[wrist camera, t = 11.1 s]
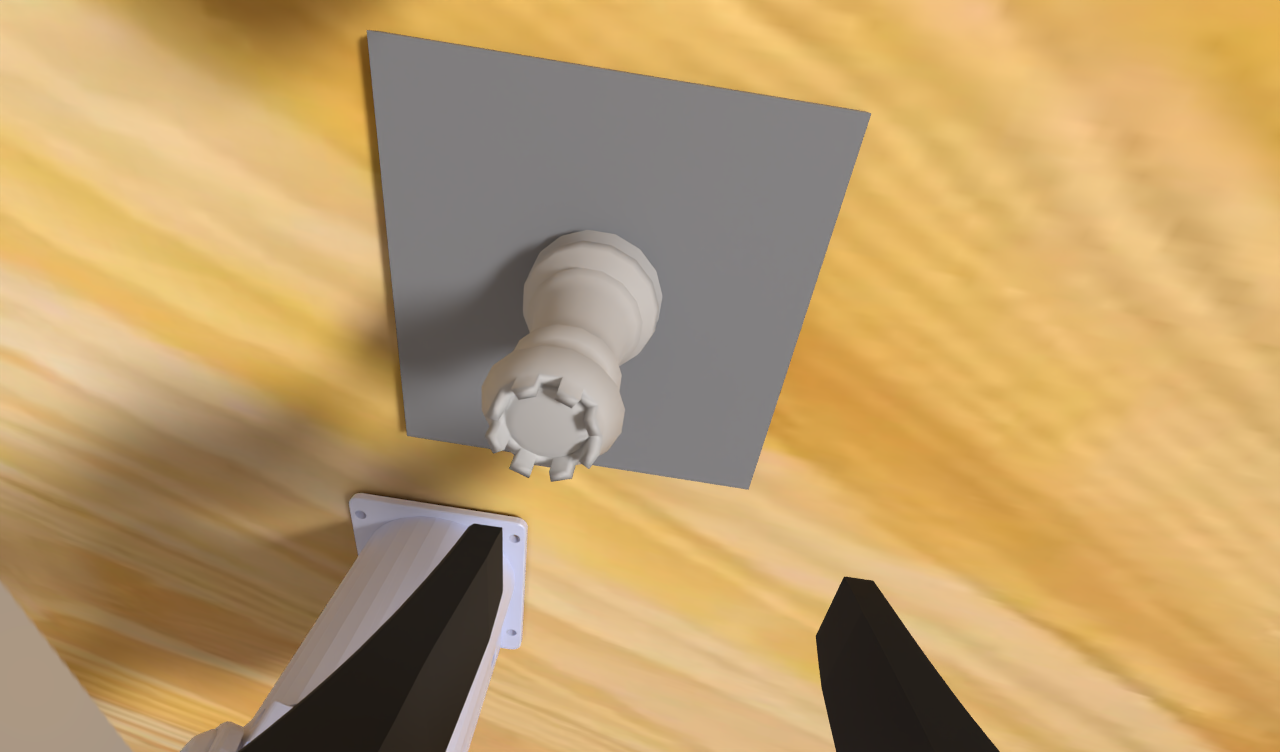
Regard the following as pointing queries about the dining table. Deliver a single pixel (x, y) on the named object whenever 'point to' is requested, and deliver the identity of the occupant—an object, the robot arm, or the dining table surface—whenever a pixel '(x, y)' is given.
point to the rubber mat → (611, 203)
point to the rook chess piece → (572, 353)
